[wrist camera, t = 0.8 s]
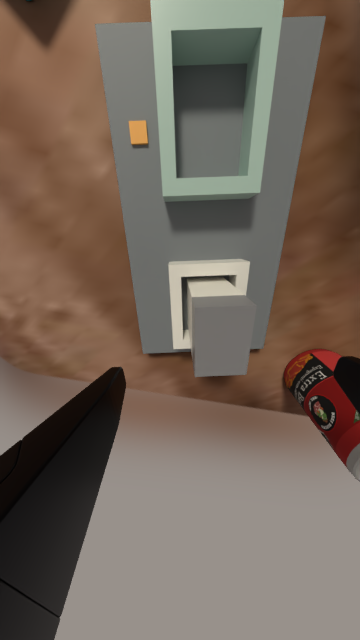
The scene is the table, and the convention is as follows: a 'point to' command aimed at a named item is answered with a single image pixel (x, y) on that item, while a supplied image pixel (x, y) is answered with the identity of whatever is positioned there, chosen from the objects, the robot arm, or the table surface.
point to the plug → (219, 327)
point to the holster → (178, 269)
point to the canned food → (326, 403)
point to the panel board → (202, 167)
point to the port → (208, 49)
